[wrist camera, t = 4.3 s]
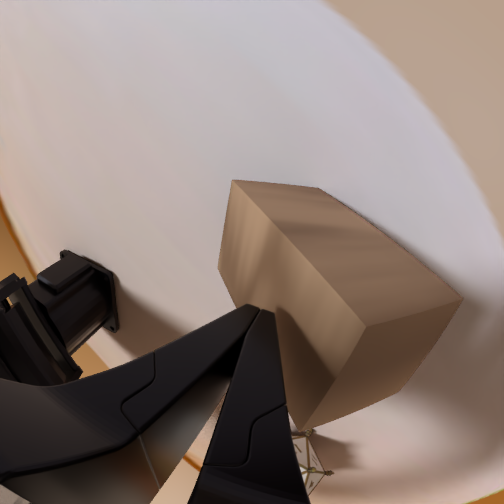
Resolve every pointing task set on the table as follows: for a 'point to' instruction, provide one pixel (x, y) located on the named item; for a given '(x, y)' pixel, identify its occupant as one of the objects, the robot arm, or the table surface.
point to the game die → (308, 461)
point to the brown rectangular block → (331, 297)
